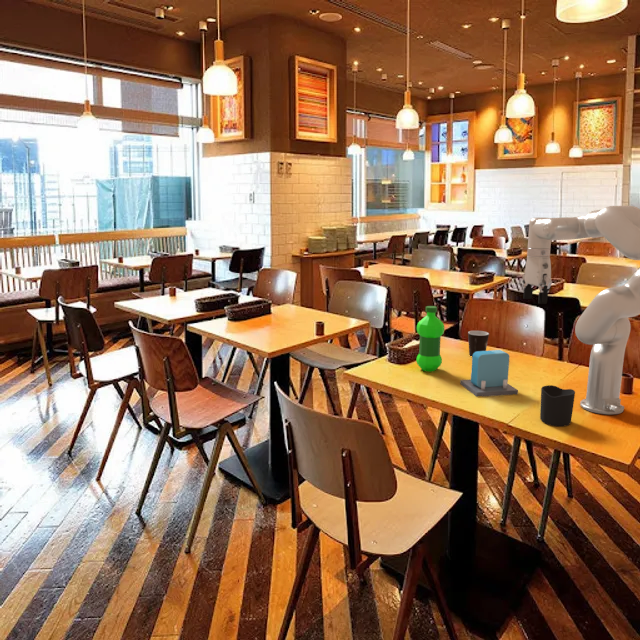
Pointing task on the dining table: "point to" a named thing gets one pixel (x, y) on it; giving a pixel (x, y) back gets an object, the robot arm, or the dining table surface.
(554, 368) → the dining table surface
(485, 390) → the pin tray
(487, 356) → the blue rounded block
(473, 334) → the coffee mug
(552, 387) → the pen holder
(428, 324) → the plastic bottle
